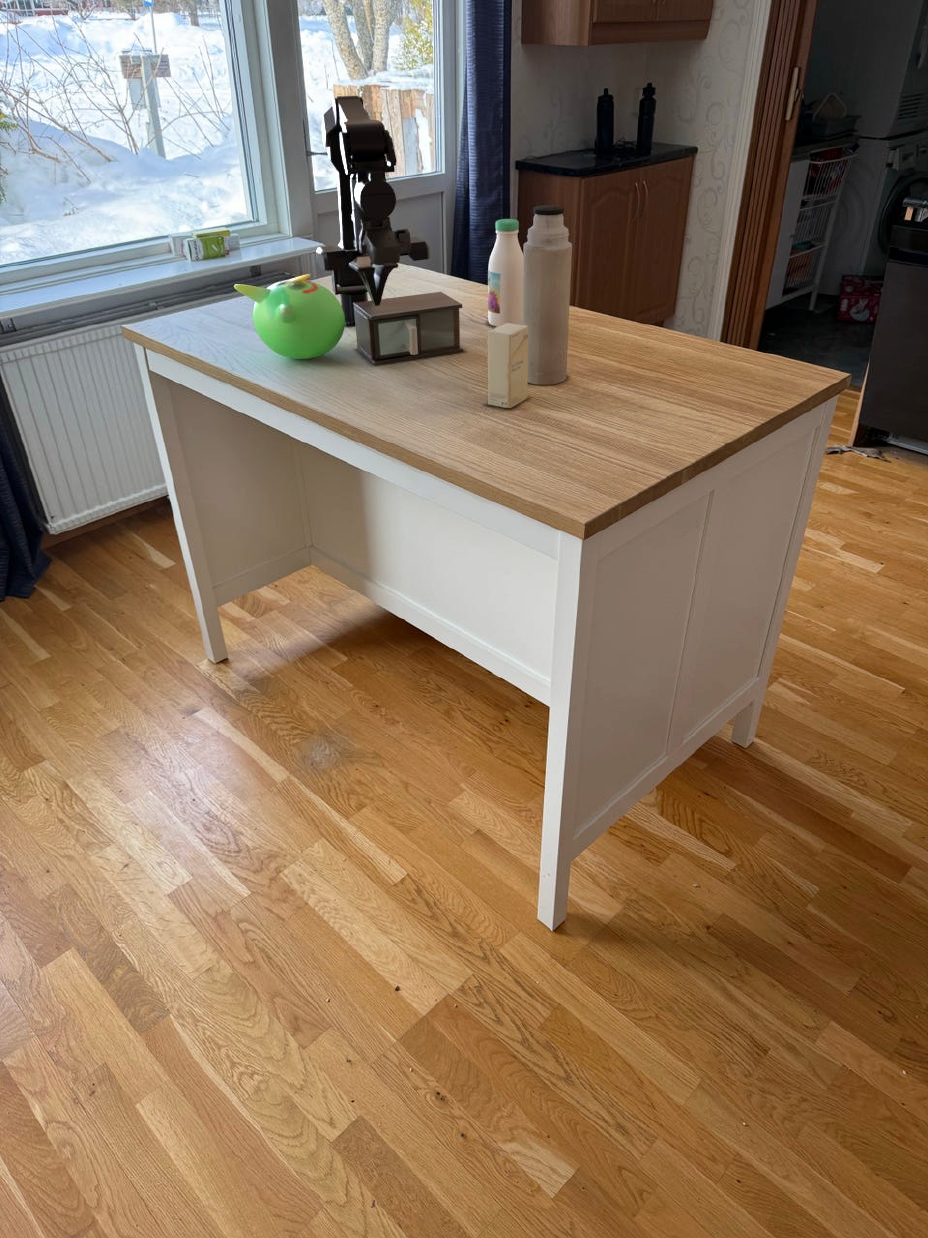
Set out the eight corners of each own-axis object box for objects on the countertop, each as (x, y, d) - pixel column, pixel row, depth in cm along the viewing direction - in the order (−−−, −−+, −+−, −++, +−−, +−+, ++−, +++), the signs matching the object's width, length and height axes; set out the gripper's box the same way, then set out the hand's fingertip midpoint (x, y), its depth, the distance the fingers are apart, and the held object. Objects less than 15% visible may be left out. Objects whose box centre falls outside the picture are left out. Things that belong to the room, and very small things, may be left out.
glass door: (375, 358, 167) (372, 320, 163) (420, 351, 170) (418, 313, 166) (385, 366, 163) (382, 327, 159) (431, 359, 166) (429, 321, 162)
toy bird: (365, 355, 172) (358, 275, 164) (295, 377, 162) (284, 293, 154) (306, 337, 182) (297, 261, 174) (237, 357, 172) (224, 278, 164)
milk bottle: (525, 317, 191) (527, 216, 180) (524, 328, 185) (525, 224, 174) (489, 317, 192) (489, 216, 181) (486, 327, 185) (486, 224, 174)
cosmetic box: (510, 409, 146) (510, 334, 140) (486, 405, 148) (486, 331, 142) (528, 397, 151) (529, 324, 144) (505, 393, 153) (505, 321, 146)
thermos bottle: (528, 368, 164) (531, 201, 148) (570, 372, 161) (578, 203, 146) (516, 382, 157) (518, 209, 142) (560, 386, 155) (567, 211, 139)
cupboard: (357, 350, 175) (353, 302, 170) (442, 337, 180) (441, 291, 175) (374, 365, 167) (371, 316, 162) (463, 352, 172) (462, 304, 167)
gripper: (329, 222, 139) (338, 323, 148) (440, 211, 145) (443, 309, 154) (310, 210, 148) (320, 307, 157) (415, 201, 154) (419, 294, 162)
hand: (376, 305), depth 157 cm, fingers closed
